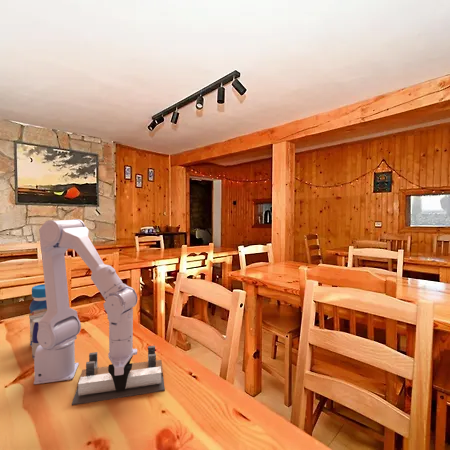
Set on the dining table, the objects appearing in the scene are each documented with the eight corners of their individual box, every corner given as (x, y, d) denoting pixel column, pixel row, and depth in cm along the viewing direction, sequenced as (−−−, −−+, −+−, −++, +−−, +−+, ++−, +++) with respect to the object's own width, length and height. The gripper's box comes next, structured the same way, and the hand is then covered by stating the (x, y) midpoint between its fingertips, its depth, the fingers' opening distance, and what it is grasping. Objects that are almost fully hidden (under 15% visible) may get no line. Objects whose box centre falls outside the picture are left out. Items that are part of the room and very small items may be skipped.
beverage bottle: (64, 338, 102) (63, 283, 100) (47, 350, 93) (46, 290, 92) (42, 336, 103) (41, 282, 101) (23, 348, 94) (22, 289, 93)
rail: (78, 395, 70) (78, 384, 70) (80, 388, 73) (80, 377, 73) (161, 383, 76) (161, 372, 75) (160, 376, 79) (160, 366, 78)
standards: (77, 389, 74) (77, 366, 74) (82, 373, 81) (82, 352, 81) (163, 376, 81) (163, 355, 80) (161, 363, 87) (161, 343, 87)
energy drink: (42, 361, 87) (42, 323, 86) (27, 359, 88) (27, 321, 87) (56, 352, 92) (55, 316, 91) (42, 350, 93) (41, 314, 92)
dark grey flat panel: (71, 405, 68) (71, 403, 68) (77, 389, 74) (77, 388, 74) (164, 390, 75) (164, 389, 75) (163, 377, 80) (163, 375, 80)
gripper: (136, 347, 68) (136, 401, 68) (137, 322, 81) (137, 368, 82) (104, 350, 66) (105, 407, 66) (111, 325, 79) (111, 372, 80)
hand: (121, 386), depth 74 cm, fingers closed on rail, 3 cm apart
